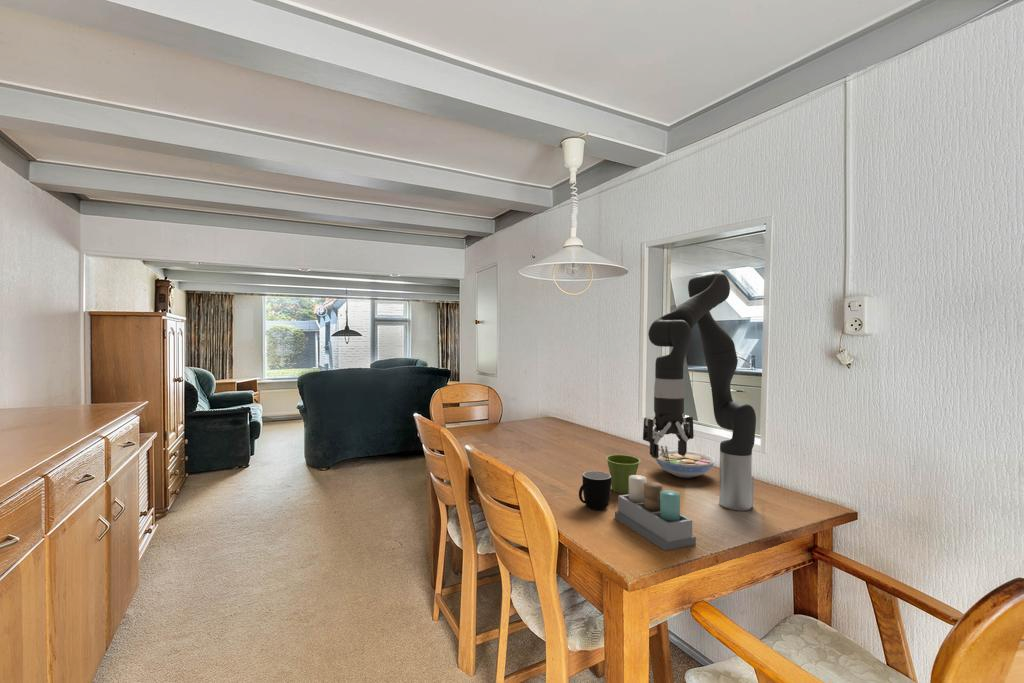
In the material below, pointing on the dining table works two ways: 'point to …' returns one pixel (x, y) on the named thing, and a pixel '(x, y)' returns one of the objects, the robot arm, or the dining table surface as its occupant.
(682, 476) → the ramen bowl
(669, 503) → the teal rounded cylinder
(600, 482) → the mug
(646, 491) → the brown rounded cylinder
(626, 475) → the plant pot
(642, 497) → the white rounded piece
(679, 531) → the grey compartment tray
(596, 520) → the dining table surface
